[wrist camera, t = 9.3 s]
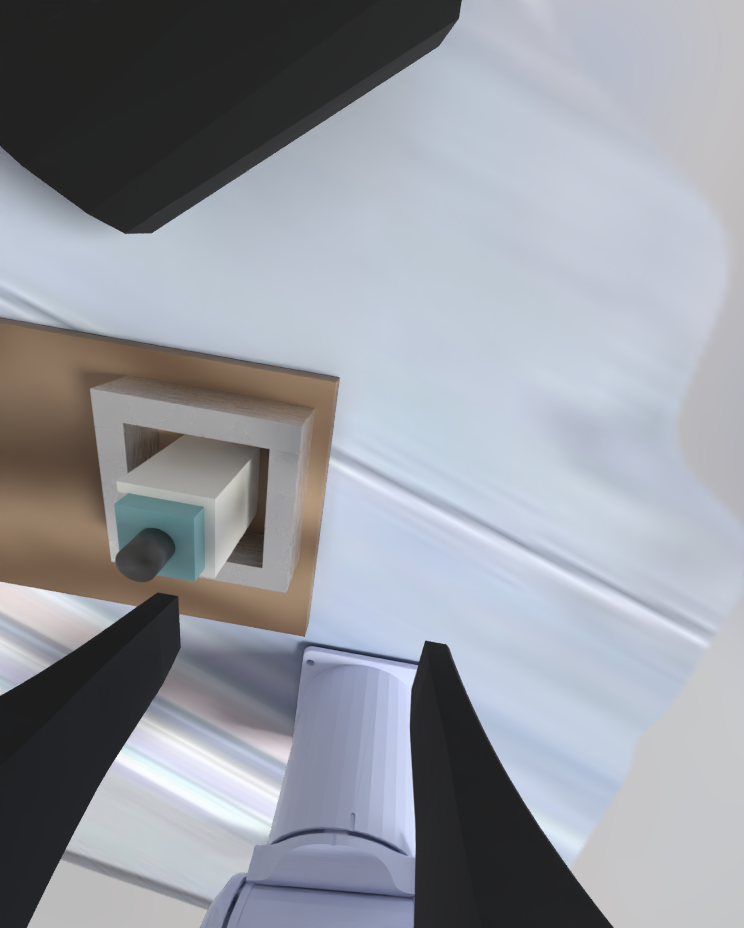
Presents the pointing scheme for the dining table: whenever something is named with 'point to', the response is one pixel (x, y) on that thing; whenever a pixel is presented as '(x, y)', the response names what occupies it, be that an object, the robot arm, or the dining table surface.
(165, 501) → the connector plug
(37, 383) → the board
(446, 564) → the dining table surface
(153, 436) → the end holder
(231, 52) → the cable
